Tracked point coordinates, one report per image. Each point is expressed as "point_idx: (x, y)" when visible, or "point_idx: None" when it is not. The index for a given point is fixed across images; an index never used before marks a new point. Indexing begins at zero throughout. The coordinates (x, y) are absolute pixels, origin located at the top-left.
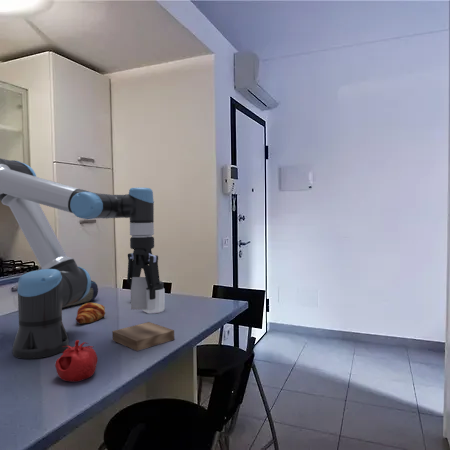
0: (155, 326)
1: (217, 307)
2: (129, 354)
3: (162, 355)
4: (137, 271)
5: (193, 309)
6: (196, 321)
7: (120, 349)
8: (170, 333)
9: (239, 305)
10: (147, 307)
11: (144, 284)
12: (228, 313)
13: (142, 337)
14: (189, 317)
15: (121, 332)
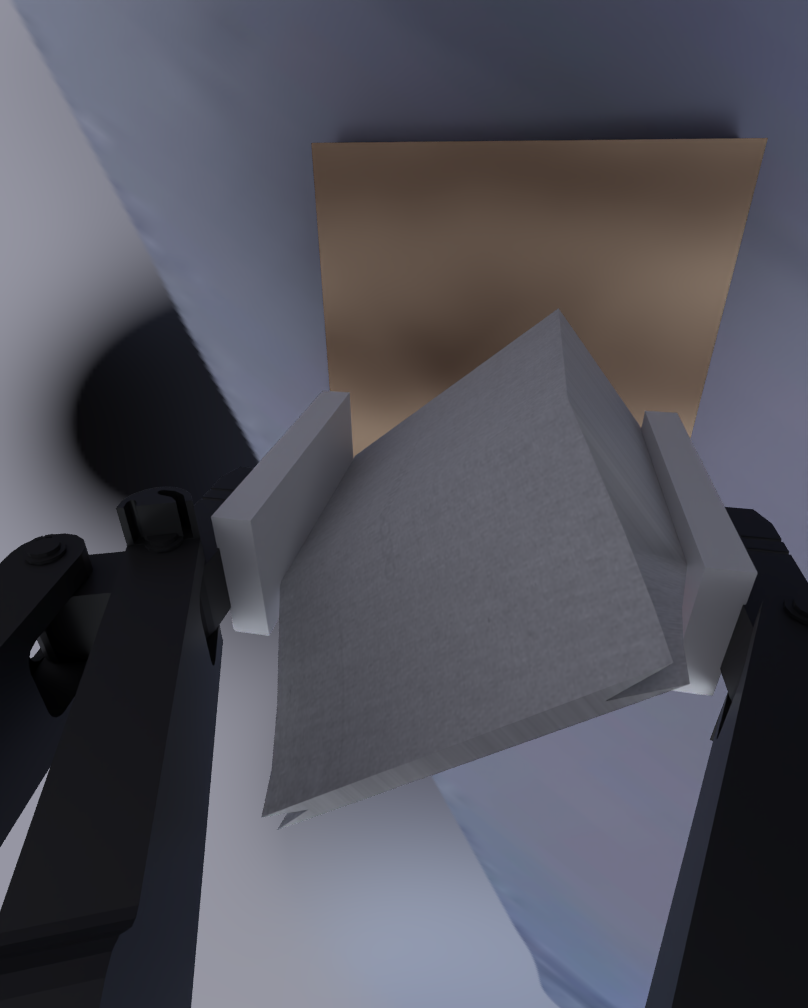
0: None
1: (626, 943)
2: (313, 44)
3: (153, 229)
4: (679, 933)
5: None
6: (529, 752)
7: (470, 52)
8: None
9: (551, 982)
10: (321, 402)
11: (378, 625)
12: (495, 888)
13: (357, 239)
14: (627, 787)
15: (637, 184)
